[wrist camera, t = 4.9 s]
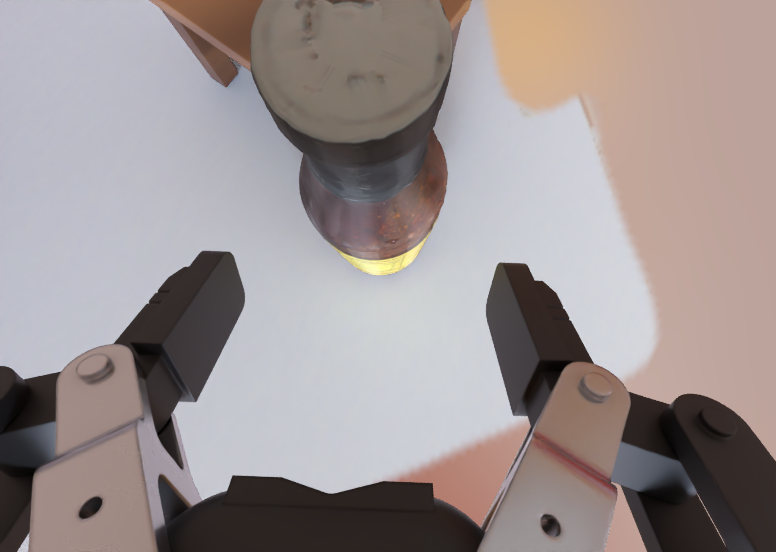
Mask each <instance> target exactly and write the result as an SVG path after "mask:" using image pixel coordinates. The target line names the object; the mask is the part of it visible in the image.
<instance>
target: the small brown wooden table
mask: <svg viewBox="0 0 776 552" xmlns="http://www.w3.org/2000/svg"><path fill="white" fill-rule="evenodd" d="M149 1H151V2H152V3H153V4H155V5H156V6H158V7H159V8H160V9H161V10H162V11H163V13H164V14H165V15H166V17H167V18H168V19H169V21H170V22H171V23H172V25H173V26H174V28H175V29H176V30H177V32H178V33H179V34H180V36H181V37H182V38H183V40H184V41H185V42H186V44H187V45H188V46H189V48H190V49H191V50H192V52H193V53H194V54H195V56H196V57H197V59H198V60H199V61H200V63H201V64H202V65H203V67H204V68H205V69H206V71H207V72H208V73H209V75H210V76H211V77H212V78H213V79H215V80H216V81H218V82H219V83H220V84H222V85H223V86H225V87H227V86H228V85H229V84H230V82H231V81H232V80H233V79H234V78H235V76H236V75H237V74H238V71H237V70H236V68H235V66H234V65H233V63H232V62H231V60H230V58H229V57H231V58H232V59H234V60H235V61H237V62H238V63H239V64H241V65H242V66H244V67H245V68H247V69H248V70H249V71H251V69H250V66H251V54H250V44H251V30H252V26H253V22H254V19H255V16H256V13H257V11H258V9H259V7H260V5H261V3H262V1H263V0H149ZM439 1H440V2H441V4H442V6H443V8H444V11H445V14H446V17H447V19H448V21H449V23H450V26H451V31H452V35H453V53H454V49H455V45H456V41H457V37H458V33H459V29H460V25H461V21H462V18H463V16H464V15H465V14H466V12H467V11H468V10H469V7H470V3H471V0H439ZM228 56H229V57H228Z"/></svg>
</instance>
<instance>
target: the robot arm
mask: <svg viewBox="0 0 776 552" xmlns="http://www.w3.org/2000/svg"><path fill="white" fill-rule="evenodd" d="M244 302H245V293H244V288H243V285H242V282H241V278H240V275H239V272H238V269H237V265H236V262H235V259H234V256H233V255H232V253H230V252H221V251H202V252H201V253H200V254H199V255H198V256H197V257H196V259H195V260H194V261H193V263H192V264H191V265H190V266H189V267H184V268H182V269H181V270H179V271H178V272H176V273H175V274H173V275H172V276H170V277H169V278H168V279H167V280H166V281H165V282H164V283H163V285H162V286H161V287H160V288H159V290H158V293H155V294H154V296H153V297H152V298H151V299H150V300H149V304H146V305H145V306H144V308H143V309H142V310H141V311H140V312H139V314H138V315H137V316H136V317H135V319H134V320H133V321H132V322H131V323H130V325H129V326H128V327H127V328H126V329H125V331H124V332H123V333H122V334H121V335H120V337H119V338H118V339H117V340H116V341H115V343H114V344H110V345H104V346H100V347H97V348H94V349H91V350H89V351H87V352H85V353H83V354H81V355H80V356H78V357H76V358H75V359H74V360H72V361H71V362H70V363H69V364H68V365H67V366H66V367H65V368H64V369H63V370H62V371H61V372H57V373H52V374H48V375H43V376H38V377H33V378H29V379H24V380H23V379H22V378H21V377H20V376H19V375H18V374H17V373H16V372H15V371H14V370H13V369H11V368H9V367H5V366H0V552H17V551H18V549H19V548H20V546H21V544H22V543H23V541H24V540H25V538H26V537H27V535H28V533H29V532H30V533H29V550H28V552H604V551H605V547H606V543H607V539H608V535H609V531H610V527H611V522H612V518H613V514H614V510H615V505H616V501H617V488H616V486H615V485H613V484H611V482H614V483H617V484H619V485H621V487H622V490H623V492H624V495H625V497H626V500H627V502H628V505H629V507H630V510H631V512H632V515H633V517H634V520H635V522H636V525H637V527H638V530H639V532H640V535H641V537H642V540H643V542H644V545H645V547H646V550H647V552H776V461H775V460H774V459H773V457H772V456H771V455H770V453H769V452H768V451H767V449H766V448H765V447H764V445H763V444H762V443H761V441H760V440H759V439H758V438H757V436H756V435H755V434H754V432H753V431H752V430H751V428H750V427H749V426H748V425H747V423H746V422H745V421H744V420H743V419H742V418H741V417H740V416H738V415H737V414H736V413H735V412H734V411H732V410H731V409H729V408H728V407H726V406H725V405H723V404H721V403H720V402H718V401H715V400H713V399H711V398H708V397H705V396H702V395H697V394H684V395H681V396H679V397H678V398H676V400H674V401H673V403H672V404H671V405H670V404H666V403H663V402H660V401H656V400H653V399H650V398H646V397H643V396H640V395H637V394H634V393H631V392H628V391H627V389H626V387H625V386H624V384H623V383H622V382H621V381H620V380H619V379H618V378H617V377H616V376H615V375H614V374H612V373H611V372H609V371H608V370H606V369H604V368H603V367H600V366H598V365H595V364H594V363H593V361H592V359H591V358H590V356H589V354H588V352H587V350H586V348H585V346H584V344H583V343H582V341H581V339H580V337H579V335H578V333H577V331H576V329H575V328H574V326H573V324H572V322H571V321H569V316H568V314H567V313H566V311H565V309H563V305H562V303H561V301H560V300H559V298H558V296H557V294H556V293H555V292H554V291H553V290H552V289H551V288H550V287H549V286H548V285H547V284H545V283H544V282H543V281H535V280H534V278H533V276H532V274H531V272H530V270H529V268H528V266H527V265H526V264H523V263H499V264H498V265H497V267H496V270H495V274H494V278H493V281H492V285H491V288H490V292H489V295H488V299H487V304H486V317H487V322H488V325H489V329H490V333H491V336H492V340H493V344H494V347H495V351H496V355H497V358H498V362H499V366H500V369H501V373H502V377H503V380H504V384H505V387H506V391H507V395H508V398H509V402H510V406H511V409H512V413H513V415H514V416H528V418H529V422H530V425H531V427H530V429H529V431H528V433H527V435H526V437H525V439H524V441H523V443H522V445H521V447H520V449H519V451H518V453H517V455H516V457H515V459H514V462H513V463H512V465H511V467H510V469H509V471H508V473H507V475H506V477H505V479H504V481H503V484H502V485H501V487H500V489H499V491H498V493H497V495H496V497H495V499H494V501H493V503H492V505H491V506H490V508H489V510H488V512H487V514H486V516H485V518H484V520H483V522H482V524H481V526H480V527H479V526H478V525H477V524H476V523H475V522H474V521H472V520H471V519H470V518H469V517H468V516H467V515H466V514H464V513H463V512H461V511H460V510H458V509H457V508H455V507H454V506H452V505H450V504H448V503H446V502H444V501H442V500H439V499H437V498H434V497H433V483H414V482H388V481H383V482H379V483H375V484H371V485H367V486H363V487H359V488H355V489H351V490H347V491H343V492H339V493H334V494H328V493H324V492H322V491H319V490H316V489H313V488H310V487H308V486H305V485H302V484H299V483H296V482H293V481H291V480H288V479H285V478H282V477H258V476H232V479H231V482H230V485H229V487H228V490H227V491H225V492H222V493H219V494H216V495H214V496H211V497H209V498H207V499H205V500H203V501H202V499H201V497H200V494H199V492H198V490H197V488H196V486H195V484H194V482H193V479H192V476H191V473H190V470H189V466H188V462H187V458H186V454H185V451H184V447H183V443H182V439H181V435H180V431H179V428H178V424H177V420H176V417H175V414H174V413H173V411H174V409H175V407H176V405H177V403H178V402H179V401H182V402H196V401H197V399H198V397H199V395H200V393H201V391H202V389H203V387H204V385H205V383H206V382H207V380H208V378H209V376H210V374H211V372H212V370H213V368H214V366H215V364H216V362H217V360H218V358H219V356H220V354H221V352H222V350H223V348H224V346H225V344H226V342H227V340H228V338H229V336H230V334H231V332H232V330H233V328H234V326H235V324H236V322H237V320H238V318H239V316H240V314H241V312H242V310H243V307H244ZM697 494H698V495H699V497H700V499H701V500H702V502H703V504H704V506H705V508H706V509H707V511H708V513H709V515H710V517H711V518H712V520H713V522H714V524H715V526H716V528H717V529H718V531H719V533H720V535H721V537H722V539H723V541H724V543H725V545H726V546H725V545H724V543H723V541H722V539H721V537H720V536H719V534H718V532H717V530H716V528H715V526H714V524H713V523H712V521H711V519H710V517H709V516H708V514H707V512H706V510H705V508H704V506H703V504H702V503H701V501H700V499H699V497H698V495H697Z"/></svg>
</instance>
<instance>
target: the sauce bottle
mask: <svg viewBox="0 0 776 552" xmlns="http://www.w3.org/2000/svg"><path fill="white" fill-rule="evenodd" d="M250 54H251V66H250V69H251V72H252V76H253V79H254V82H255V84H256V86H257V89H258V91H259V93H260V95H261V97H262V99H263V100H264V102H265V104H266V107H267V109H268V110H269V112H270V113H271V115H272V117H273V119H274V121H275V123H276V124H277V126H278V128H279V130H280V131H281V132H282V133H283V134H284V136H285V137H286V138H287V139H288V140H289V141H290V142H291V143H292V144H293V145H294V146H296V147H297V148H298V149H299V150H300V151H301V152H303V153H304V154H303V158H302V162H301V167H300V175H299V187H300V195H301V199H302V203H303V205H304V208H305V210H306V213H307V215H308V217H309V219H310V221H311V222H312V224H313V225H314V227H315V228H316V230H317V231H318V232H319V233H320V234H321V235H322V237H323V238H324V239H325V240H326V241H327V242H329V243H330V244H331V245H332V246H333V247H334V248H335V249H336V250H337V251H338V252H339V253H340V254H341V255H342V256H343V257H344V258H345V259H347V260H348V261H349V262H350V263H351V264H352V265H354V266H355V267H356V268H358V269H359V270H361V271H363V272H366V273H369V274H373V275H387V274H391V273H396V272H398V271H400V270H402V269H403V268H405V267H407V266H408V265H409V264H410V263H411V262H412V261H413V260H414V259H415V258H416V257H417V255H418V253H419V252H420V250H421V248H422V246H423V245H424V243H425V241H426V239H427V238H428V236H429V234H430V232H431V230H432V228H433V226H434V224H435V222H436V220H437V218H438V215H439V212H440V209H441V207H442V205H443V203H444V197H445V193H446V185H447V176H448V172H447V165H446V159H445V156H444V152H443V149H442V146H441V144H440V142H439V141H438V140H437V137H436V135H435V133H434V130H433V127H434V126H435V123H436V119H437V116H438V112H439V110H440V108H441V106H442V103H443V100H444V96H445V92H446V89H447V85H448V82H449V77H450V72H451V67H452V60H453V35H452V31H451V26H450V23H449V21H448V19H447V17H446V14H445V11H444V8H443V6H442V4H441V2H440V1H439V0H263V1H262V3H261V5H260V7H259V9H258V11H257V13H256V16H255V19H254V22H253V26H252V30H251V44H250Z"/></svg>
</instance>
